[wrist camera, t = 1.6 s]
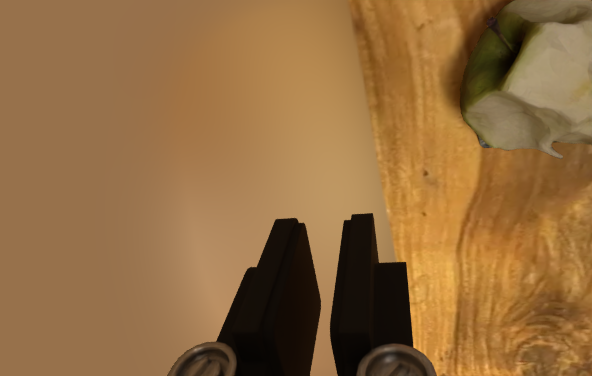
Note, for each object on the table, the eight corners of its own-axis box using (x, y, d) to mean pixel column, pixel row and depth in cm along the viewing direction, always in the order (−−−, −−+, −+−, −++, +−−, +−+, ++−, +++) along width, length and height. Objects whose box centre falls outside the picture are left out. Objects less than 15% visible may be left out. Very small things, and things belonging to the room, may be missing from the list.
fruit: (423, 43, 25) (443, 36, 18) (589, -40, 23) (695, -91, 15) (479, 177, 27) (518, 223, 19) (640, 115, 24) (758, 139, 17)
